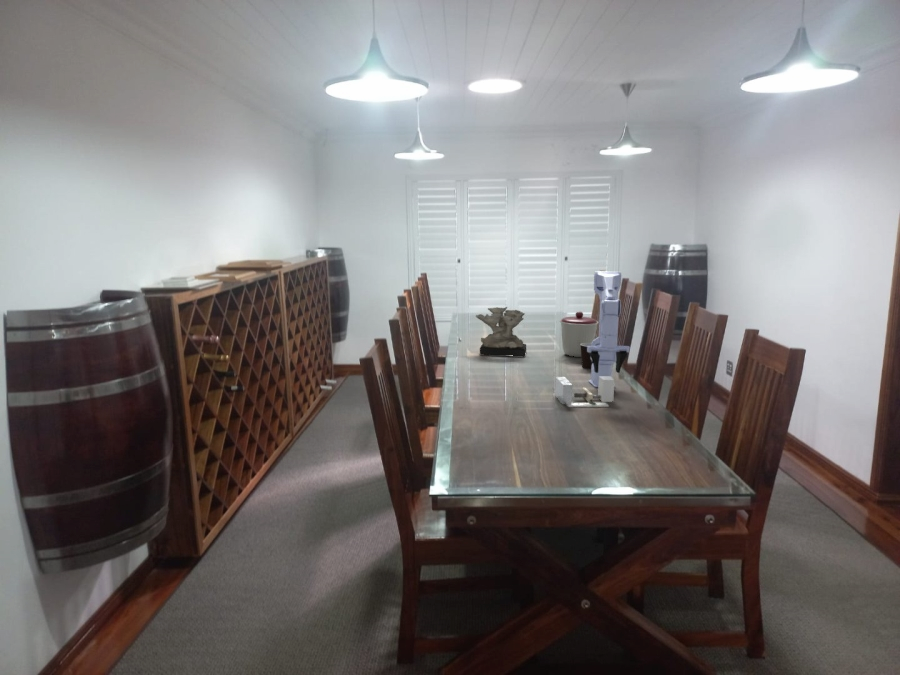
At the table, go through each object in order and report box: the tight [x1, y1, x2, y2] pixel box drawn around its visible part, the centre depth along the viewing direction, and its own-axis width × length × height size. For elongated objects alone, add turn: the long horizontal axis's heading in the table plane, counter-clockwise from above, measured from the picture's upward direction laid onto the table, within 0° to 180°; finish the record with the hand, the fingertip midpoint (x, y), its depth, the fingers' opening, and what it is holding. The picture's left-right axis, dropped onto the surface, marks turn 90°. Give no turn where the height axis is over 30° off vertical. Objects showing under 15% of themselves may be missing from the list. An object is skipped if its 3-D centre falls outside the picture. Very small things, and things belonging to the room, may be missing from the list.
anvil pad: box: [573, 387, 597, 405], centre depth 206 cm, size 14×5×3 cm, turn 3°
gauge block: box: [593, 376, 616, 403], centre depth 208 cm, size 5×7×8 cm
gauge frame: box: [554, 376, 610, 408], centre depth 207 cm, size 14×15×7 cm
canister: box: [559, 311, 599, 358], centre depth 282 cm, size 18×18×21 cm
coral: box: [475, 306, 527, 357], centre depth 288 cm, size 25×20×21 cm
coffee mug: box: [580, 343, 593, 370], centre depth 258 cm, size 12×9×10 cm
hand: (606, 372), depth 208 cm, fingers open, 7 cm apart
